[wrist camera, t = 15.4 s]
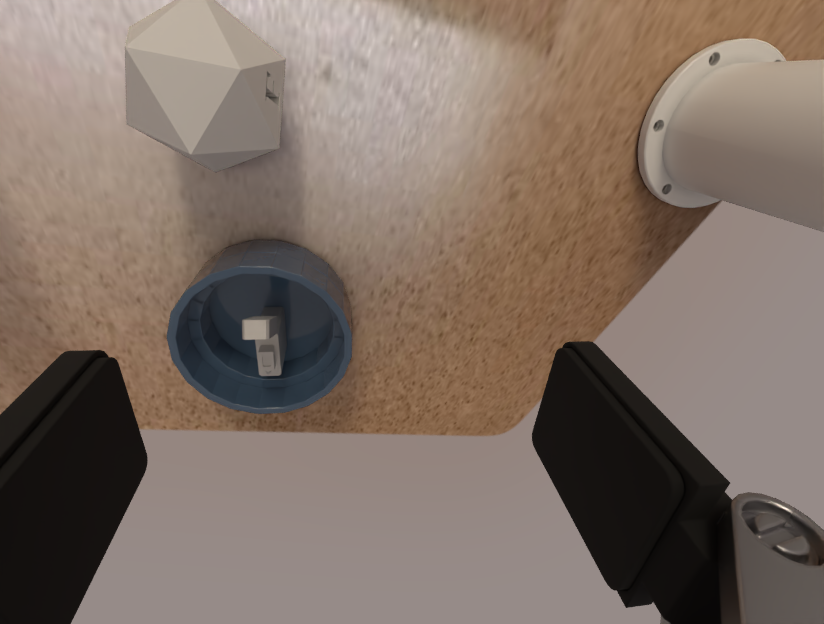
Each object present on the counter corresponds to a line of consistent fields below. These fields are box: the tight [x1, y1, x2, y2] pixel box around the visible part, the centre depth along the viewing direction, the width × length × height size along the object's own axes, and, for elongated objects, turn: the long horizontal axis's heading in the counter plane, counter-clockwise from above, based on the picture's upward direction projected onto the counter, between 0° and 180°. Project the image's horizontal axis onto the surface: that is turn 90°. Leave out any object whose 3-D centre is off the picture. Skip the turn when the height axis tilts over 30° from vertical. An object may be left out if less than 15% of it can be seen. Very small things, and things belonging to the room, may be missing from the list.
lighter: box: [242, 307, 287, 376], centre depth 33 cm, size 7×2×8 cm, turn 176°
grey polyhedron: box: [125, 0, 286, 173], centre depth 25 cm, size 8×9×10 cm
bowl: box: [167, 240, 352, 414], centre depth 34 cm, size 13×13×6 cm
